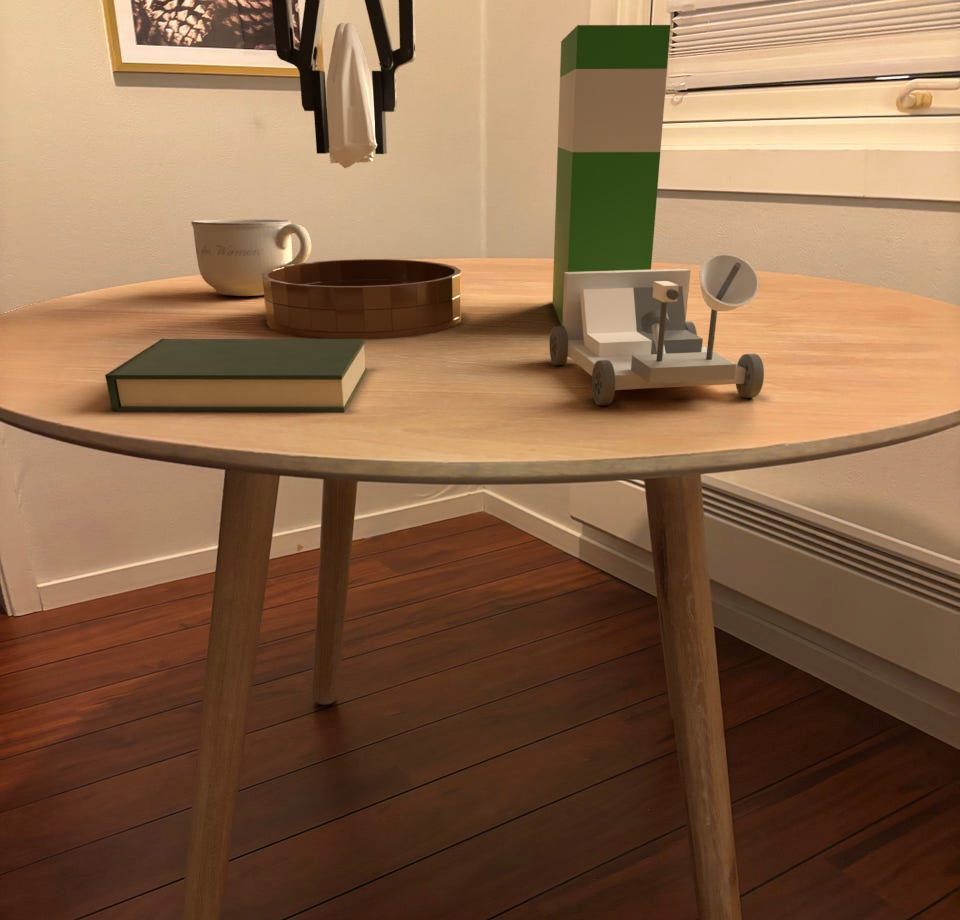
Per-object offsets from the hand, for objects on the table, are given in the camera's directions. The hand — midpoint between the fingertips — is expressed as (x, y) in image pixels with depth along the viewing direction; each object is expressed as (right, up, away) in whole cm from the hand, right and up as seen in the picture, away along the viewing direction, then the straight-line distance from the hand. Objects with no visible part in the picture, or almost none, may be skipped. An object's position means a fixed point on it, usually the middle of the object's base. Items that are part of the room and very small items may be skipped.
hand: (352, 152), depth 87 cm
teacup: (-13, -6, +21) cm, 25 cm away
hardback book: (+23, -13, +8) cm, 28 cm away
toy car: (+25, -26, -16) cm, 39 cm away
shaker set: (0, -1, +1) cm, 1 cm away
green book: (-5, -26, -17) cm, 32 cm away
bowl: (0, -13, +7) cm, 15 cm away
